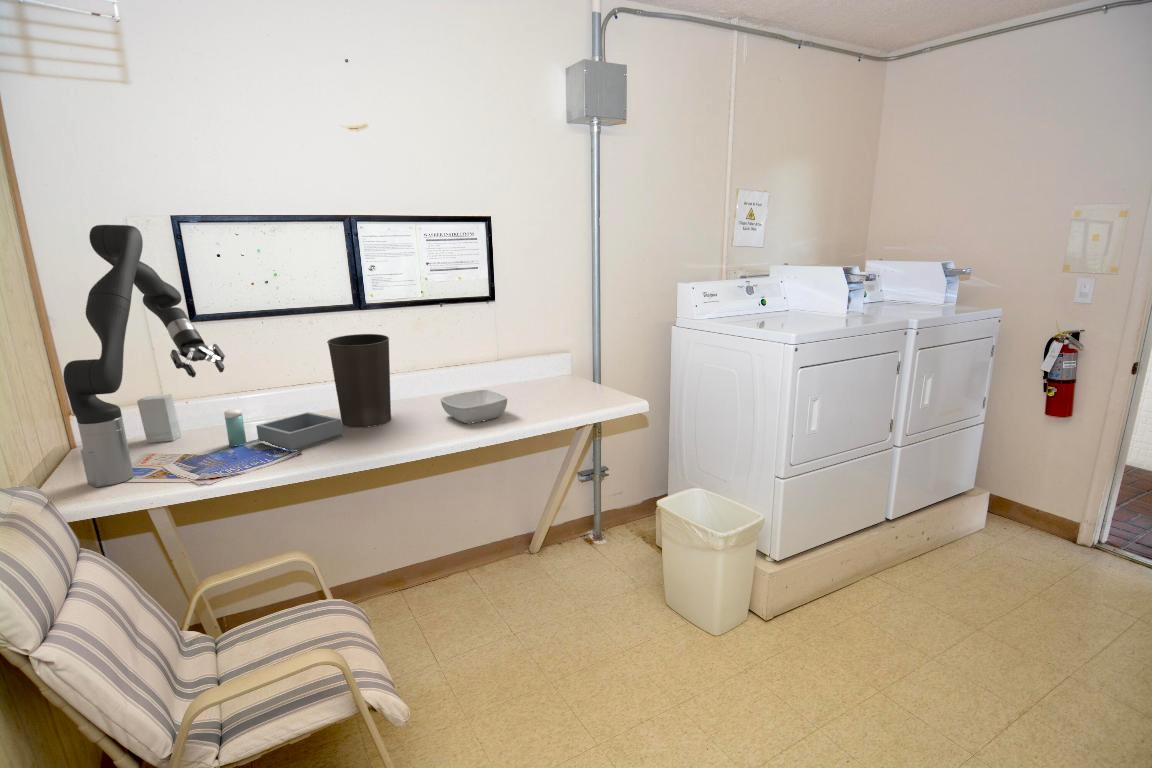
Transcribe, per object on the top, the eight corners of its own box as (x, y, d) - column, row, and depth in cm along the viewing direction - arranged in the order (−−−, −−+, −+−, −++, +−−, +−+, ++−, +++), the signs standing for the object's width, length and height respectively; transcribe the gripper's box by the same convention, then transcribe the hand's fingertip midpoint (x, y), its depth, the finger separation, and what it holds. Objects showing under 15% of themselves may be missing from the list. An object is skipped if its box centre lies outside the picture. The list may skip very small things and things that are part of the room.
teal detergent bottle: (234, 447, 182) (229, 414, 180) (226, 445, 185) (221, 412, 182) (249, 443, 186) (244, 410, 184) (241, 441, 189) (236, 408, 186)
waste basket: (399, 427, 200) (392, 342, 193) (336, 435, 193) (325, 346, 186) (393, 409, 225) (386, 332, 218) (337, 415, 217) (328, 336, 211)
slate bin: (291, 452, 177) (289, 433, 175) (258, 443, 186) (256, 425, 185) (342, 436, 191) (340, 419, 190) (309, 428, 201) (307, 412, 199)
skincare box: (181, 436, 195) (174, 393, 192) (173, 441, 189) (165, 397, 186) (154, 438, 193) (146, 395, 190) (144, 443, 188) (136, 399, 184)
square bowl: (461, 429, 197) (459, 407, 196) (437, 416, 213) (435, 396, 212) (513, 418, 209) (512, 398, 207) (486, 407, 225) (485, 388, 224)
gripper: (163, 331, 182) (187, 370, 179) (210, 325, 194) (234, 362, 190) (158, 346, 186) (181, 384, 183) (205, 340, 198) (228, 376, 194)
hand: (208, 373), depth 187 cm, fingers open, 8 cm apart
